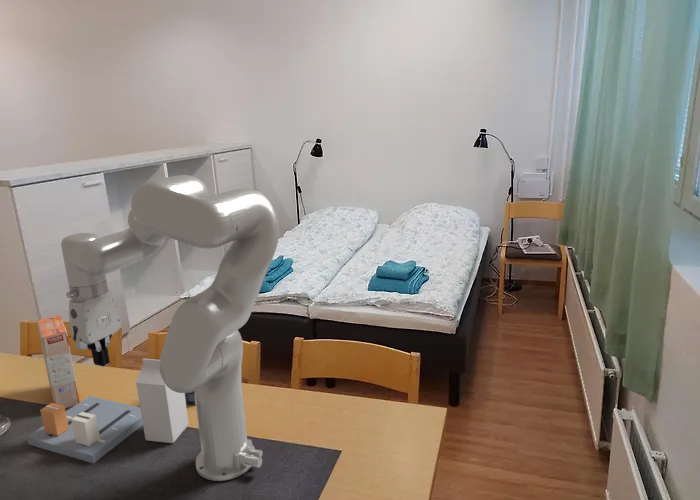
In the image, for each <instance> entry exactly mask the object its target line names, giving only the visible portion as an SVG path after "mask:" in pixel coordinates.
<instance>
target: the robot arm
mask: <svg viewBox="0 0 700 500" xmlns="http://www.w3.org/2000/svg"><path fill="white" fill-rule="evenodd" d="M209 193H210V192H209V190H208V188H207V186H206V184H205V183H204V182H203V181H202V180H201V179H199V178H197V177H196V176H193V175H191V174H190V175H189V174H177V175H172V176H168V177H167V176H166V177H163V178H158V179H153V180H152V179H151V180H148V181H145V182H144V183H142V184H141V185H139V186H138V187H137V188H136V189H135V190H134V192H133V194H132V195H131V200H130V207H131V209H130V210H129V212H128V214H127V225H128V227H129V228H127V229H125V230H122V231H118V232H115V233H112V234H111V233H110V234H108V235H105V236H101V237H99V236H98V235H97V234H95V233H91V232H82V233H81V232H79V233H74V234H70V235H67V236H65V237H64V238H62V239H61V242H60V246H61V252H62V257H63V263H64V269H65V273H66V279H67V283H68V290H69V291H68V292H66V293H65V294H66V297H67V298H68V299H69V301H68V319H69V320H68V321H69V328H70V334H71V338H72V340H73V342H75V349H76V350H77V351H83V350H87V349H88V350H89V351H91V355H92V362H93V364H94V365H95V366H98V367H99V366H100V367H106V366H107V365H109V364H110V363H111V361H110V354H109V350H108V347H110V341H111V339H112V336H113V335H115V334H116V333H117V332H118V331H119V330H120V328H121V327H122V322H121V317H120V311H119V306H118V305H117V301H116V298H115V296H114V294H113V291H112V290H111V289H110V288H109V287H108V282H107V275H108V274H110V273H114V272H116V271H118V270H120V269H124V268H127V267H129V266H132V265H134V264H136V263H139V262H141V261H143V260H144V259H146V258H148V257H149V256H151V255H152V254H154V253H155V252H157V251H158V250H159V249H160V248H162V247H163V245H164V244H165V242H166V240H167V239H172V240H174V241H178V242H180V243H183V244H184V245H185V244H186V245H189V246H191V247H195V248H199V249H215V248H218V247H221V246H224V245H226V244H229V243H231V245H230V246H229V247H228V249H227V250H226V252H225V253H224V254H223V257H222V259H221V261H220V264H219V267H218V269H217V273H216V275H215V277H214V279H213V281H212V283H211V285H209V286H208V287H207V288H206V289H204V290H203V291H200V292H199V293H197V294H195V295H193V296H192V297H189V298H188V299H186V300H184V302H183V303H181V305H179V307H178V308H177V309H176V311H175V312H174V314H173V316H172V318H171V321H170V323H169V324H170V325H169V327H168V331H167V334H166V337H165V339H164V343H163V347H162V350H161V353H160V356H159V360H160V363H159V367H160V374H161V377H162V379H163V381H164V383H165V384H166V386H167V387H168V388H170V389H171V390H173V391H175V392H178V393H189V392H192V391H194V392H195V403H196V404H195V409H196V410H195V411H196V417H197V426H198V432H199V440H200V448H201V451H200V452H199V453H198V455H197V456H196V458H195V469H196V473H197V474H198V475H199V476H200V477H202V478H204V479H206V480H208V481H209V480H210V481H213V482H214V481H216V482H217V481H218V482H221V481H228V480H232V479H236V478H238V477H240V476H242V475H244V474H245V473H247V472H248V471H249V470H250V469H251V468H252V467H254V468H259V469H260V467H261V466H262V464H263V459H262V456H263V450H261V449H256V448H255V446H254V445H253V440H252V439H249V438H248V435H247V425H246V424H247V423H246V415H245V405H244V404H245V403H244V393H243V383H242V381H243V380H242V367H243V366H242V364H243V356H244V345H243V338H242V336H241V333H240V331H239V329H241V328H242V327H243V326H244V325H246V323H247V322H248V321H249V319H250V316H251V314H252V311H253V309H254V306H255V304H256V301H257V299H258V296H259V294H260V291H261V289H262V286H263V283H264V280H265V277H266V275H267V272H268V271H269V268H270V266H271V262H272V260H273V258H274V256H275V253H276V250H277V247H278V243H279V237H280V226H279V219H278V216H277V213H276V210H275V208H274V207H273V204H272V202H271V201H270V200H269V198H267V196H265V195H264V194H263V193H262V192H260V191H258V190H256V189H251V188H238V189H232V190H228V191H224V192H220V193H217V194H214V195H210V194H209Z"/></svg>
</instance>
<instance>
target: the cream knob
mask: <svg viewBox="0 0 700 500" xmlns="http://www.w3.org/2000/svg"><path fill="white" fill-rule="evenodd" d="M71 421H72V426H73V431H74V436H75V441H76V443H79V444H83V445H86V446H91V445H92V444H93V443H95V442H96V441H97V440H99V439H100V435H99V429H98V424H97V419H96V415H93V414H89V413H85V412H81V413H80V414H78V415H77V416H75V417H74V418H72V419H71Z"/></svg>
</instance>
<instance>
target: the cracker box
mask: <svg viewBox="0 0 700 500" xmlns="http://www.w3.org/2000/svg"><path fill="white" fill-rule="evenodd" d="M36 322H37V328H38V334H39V339H40V344H41V349H42V354H43V360H44V363H45V368H46V375H47V378H48V384H49V389H50V393H51V397H52V400H53V403H54V404H59V405H63V406H65V410H67V409H71V408H72V407H74V406H75V405H77V404H78V403H80V402H81V401H80V396H79V392H78V391H79V390H78V386H77V381H76V379H77V378H76V376H75V375H76V374H75V370H74V365H73V359H72V354H71V347H70V344H69V343H70V342H69V341H70V340H69V336H68V331H67V328H66V326H65V324H64V321H63V318H62V315H60V314H59V315H58V314H57V315H53V316H49V317H43V318H40V319H37V320H36Z"/></svg>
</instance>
